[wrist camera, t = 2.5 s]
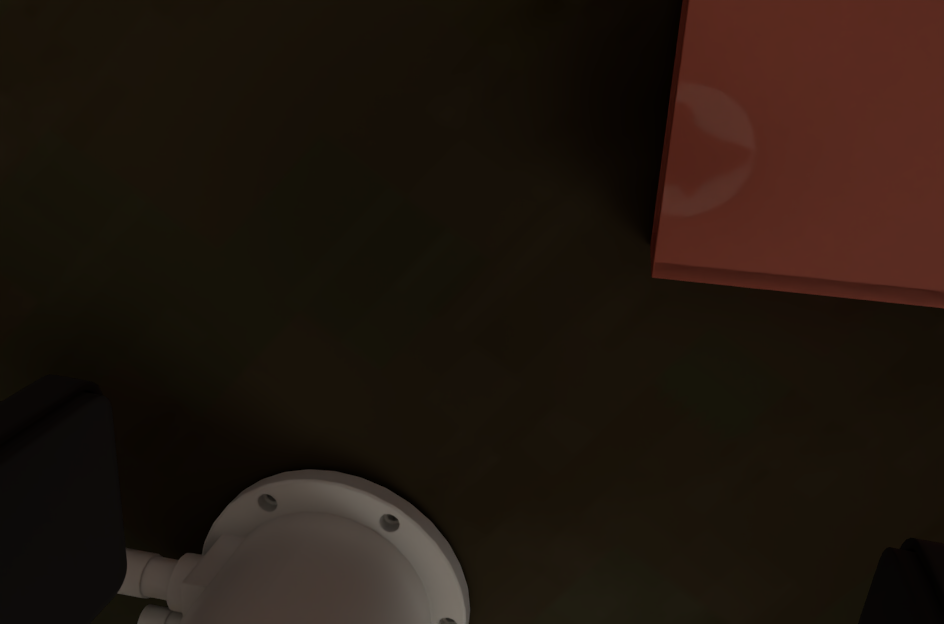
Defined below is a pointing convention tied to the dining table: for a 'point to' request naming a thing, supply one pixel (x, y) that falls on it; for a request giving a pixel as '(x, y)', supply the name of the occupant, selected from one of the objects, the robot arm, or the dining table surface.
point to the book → (806, 149)
